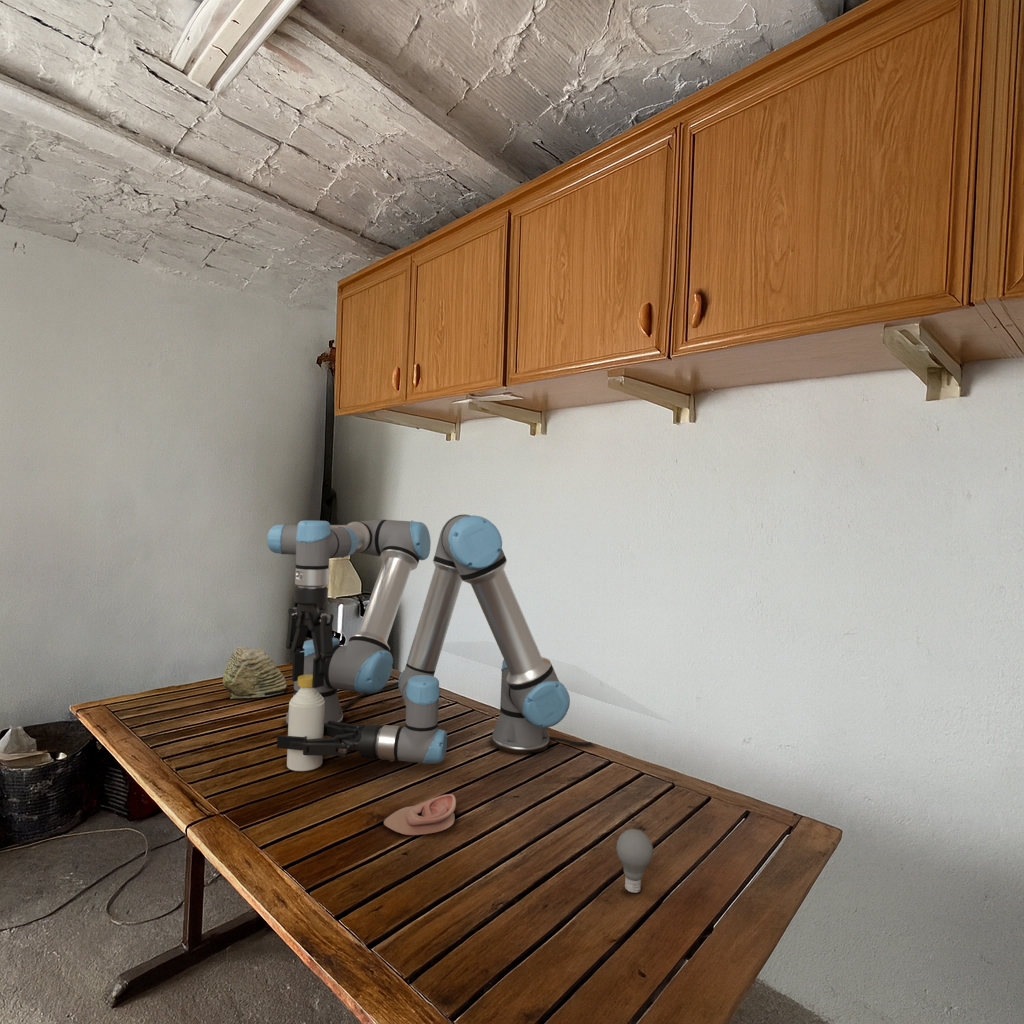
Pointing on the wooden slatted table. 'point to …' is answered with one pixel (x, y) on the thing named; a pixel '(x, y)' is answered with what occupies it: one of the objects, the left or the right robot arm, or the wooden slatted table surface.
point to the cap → (305, 680)
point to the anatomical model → (424, 816)
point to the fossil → (252, 674)
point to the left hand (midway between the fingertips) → (307, 683)
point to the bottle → (305, 726)
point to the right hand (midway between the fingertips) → (286, 734)
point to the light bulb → (634, 857)
